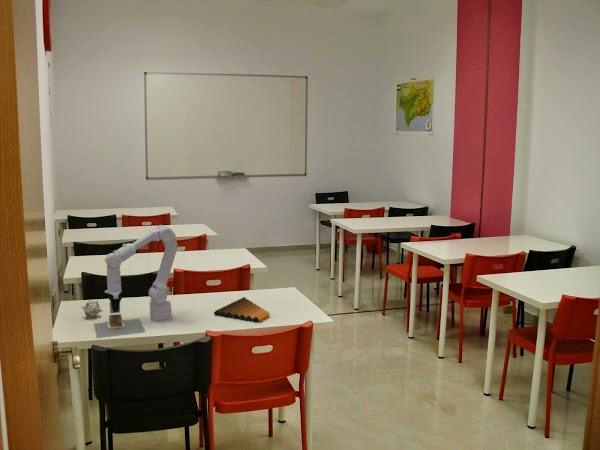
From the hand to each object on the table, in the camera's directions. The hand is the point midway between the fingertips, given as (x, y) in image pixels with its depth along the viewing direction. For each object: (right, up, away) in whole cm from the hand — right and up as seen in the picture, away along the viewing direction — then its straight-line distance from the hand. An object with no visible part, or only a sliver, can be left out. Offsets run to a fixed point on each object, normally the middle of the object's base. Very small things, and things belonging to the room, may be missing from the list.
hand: (115, 310), depth 267 cm
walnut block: (0, -7, +1) cm, 7 cm away
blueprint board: (+2, -8, -2) cm, 9 cm away
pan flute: (+58, -5, +25) cm, 63 cm away
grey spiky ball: (-15, -6, +14) cm, 22 cm away
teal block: (0, -1, 0) cm, 1 cm away
